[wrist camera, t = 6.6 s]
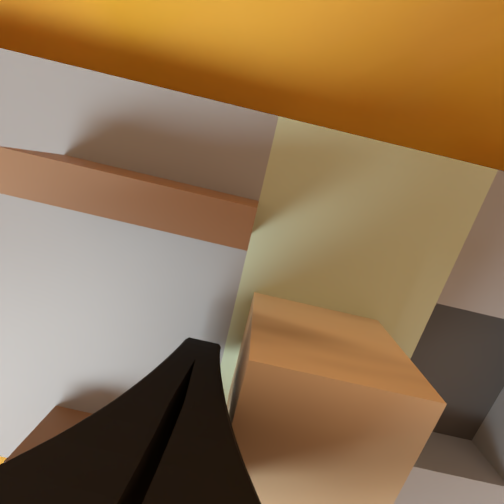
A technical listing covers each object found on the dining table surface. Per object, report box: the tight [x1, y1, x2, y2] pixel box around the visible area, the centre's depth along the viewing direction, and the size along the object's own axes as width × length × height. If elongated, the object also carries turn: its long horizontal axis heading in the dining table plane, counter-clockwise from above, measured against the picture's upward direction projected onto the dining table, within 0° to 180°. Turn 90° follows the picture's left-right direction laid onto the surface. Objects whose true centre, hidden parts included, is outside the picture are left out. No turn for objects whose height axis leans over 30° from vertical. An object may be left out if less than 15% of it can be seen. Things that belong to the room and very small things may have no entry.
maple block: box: [227, 292, 447, 504], centre depth 9 cm, size 5×5×4 cm
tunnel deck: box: [0, 48, 504, 504], centre depth 11 cm, size 18×30×5 cm, turn 77°
